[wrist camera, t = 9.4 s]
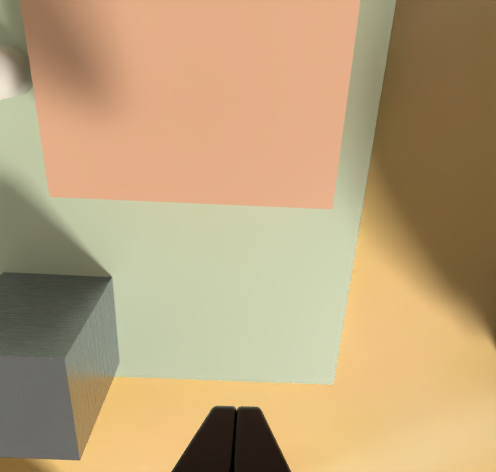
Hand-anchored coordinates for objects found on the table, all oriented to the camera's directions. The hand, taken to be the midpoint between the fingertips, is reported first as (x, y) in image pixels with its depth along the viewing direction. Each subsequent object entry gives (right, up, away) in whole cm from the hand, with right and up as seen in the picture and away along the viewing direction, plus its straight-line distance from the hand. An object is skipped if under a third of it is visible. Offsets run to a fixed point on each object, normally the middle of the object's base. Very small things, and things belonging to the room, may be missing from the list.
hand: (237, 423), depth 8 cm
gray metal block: (-8, 0, +11) cm, 13 cm away
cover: (-1, +9, +6) cm, 11 cm away
